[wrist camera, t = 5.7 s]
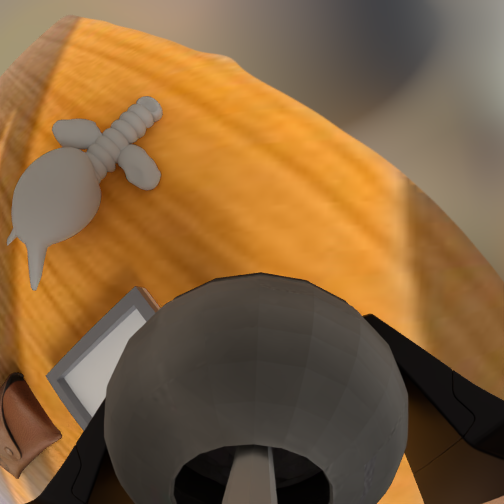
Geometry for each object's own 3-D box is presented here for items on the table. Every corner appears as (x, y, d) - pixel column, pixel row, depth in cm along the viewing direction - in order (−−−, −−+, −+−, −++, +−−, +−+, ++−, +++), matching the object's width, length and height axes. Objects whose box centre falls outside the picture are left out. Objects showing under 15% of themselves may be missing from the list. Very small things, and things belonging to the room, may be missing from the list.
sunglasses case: (18, 483, 18) (-22, 474, 12) (7, 442, 22) (-31, 430, 17) (66, 435, 20) (10, 421, 15) (51, 382, 24) (2, 363, 19)
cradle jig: (145, 480, 19) (138, 490, 17) (58, 372, 21) (45, 375, 19) (252, 411, 20) (251, 420, 18) (145, 288, 22) (135, 285, 20)
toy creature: (209, 113, 22) (49, 319, 16) (194, 152, 29) (74, 312, 23) (108, 50, 19) (-44, 217, 13) (111, 94, 26) (-7, 233, 20)
